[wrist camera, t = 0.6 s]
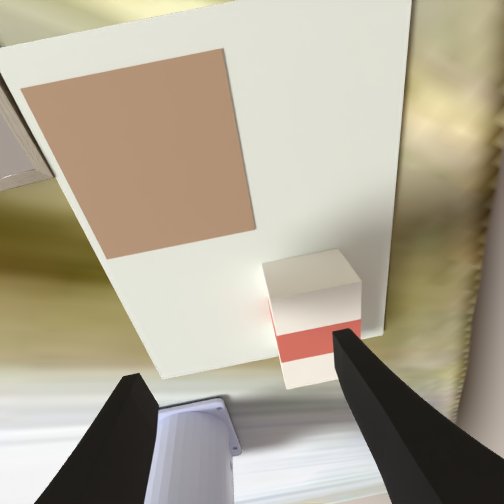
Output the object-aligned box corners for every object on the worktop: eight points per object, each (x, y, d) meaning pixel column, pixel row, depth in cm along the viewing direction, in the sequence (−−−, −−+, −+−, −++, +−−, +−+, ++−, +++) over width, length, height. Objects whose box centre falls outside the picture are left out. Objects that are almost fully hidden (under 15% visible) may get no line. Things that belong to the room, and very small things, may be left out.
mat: (380, 331, 24) (383, 335, 23) (162, 375, 24) (161, 380, 23) (409, -32, 12) (416, -36, 12) (-6, 51, 12) (-14, 49, 12)
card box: (340, 334, 23) (359, 375, 20) (276, 347, 23) (286, 390, 20) (338, 247, 19) (362, 281, 16) (261, 263, 19) (269, 299, 16)
